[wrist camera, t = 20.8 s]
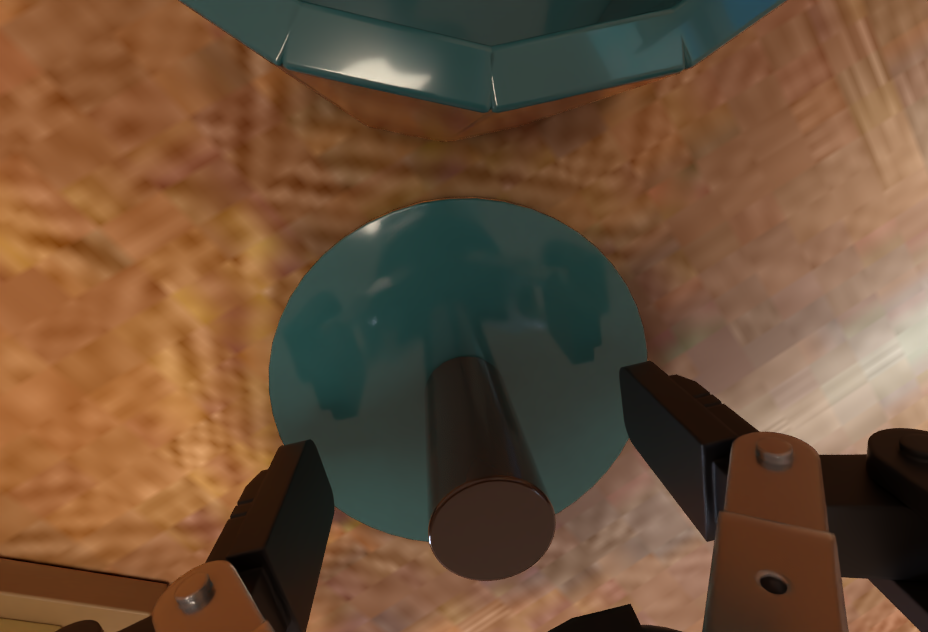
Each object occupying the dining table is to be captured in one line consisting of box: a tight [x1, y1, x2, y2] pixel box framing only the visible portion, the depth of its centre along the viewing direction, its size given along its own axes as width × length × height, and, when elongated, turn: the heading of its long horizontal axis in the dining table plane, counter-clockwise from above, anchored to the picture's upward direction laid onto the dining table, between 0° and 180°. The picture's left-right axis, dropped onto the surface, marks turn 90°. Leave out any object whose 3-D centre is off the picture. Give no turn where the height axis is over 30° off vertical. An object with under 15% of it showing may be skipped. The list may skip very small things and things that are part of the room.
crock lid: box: [269, 197, 647, 581], centre depth 12 cm, size 11×11×7 cm
